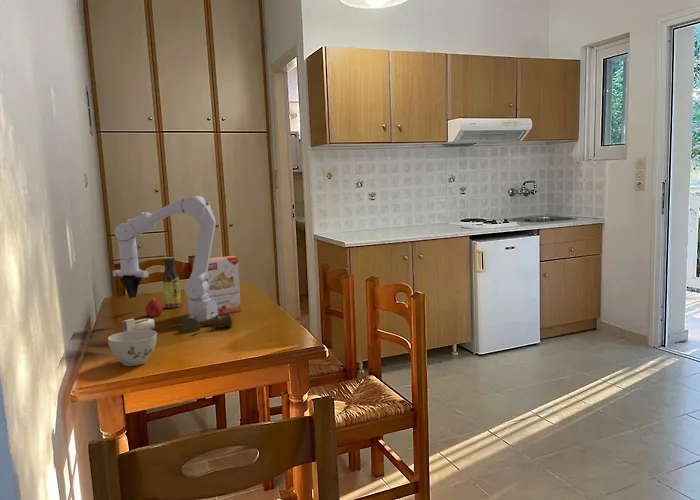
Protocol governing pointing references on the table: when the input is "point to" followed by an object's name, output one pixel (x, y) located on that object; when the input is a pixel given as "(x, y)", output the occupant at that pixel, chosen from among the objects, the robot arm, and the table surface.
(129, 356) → the white floral bowl
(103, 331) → the table surface
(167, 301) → the sauce bottle
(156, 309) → the onion
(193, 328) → the kendama
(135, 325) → the miniature toilet
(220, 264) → the cracker box
